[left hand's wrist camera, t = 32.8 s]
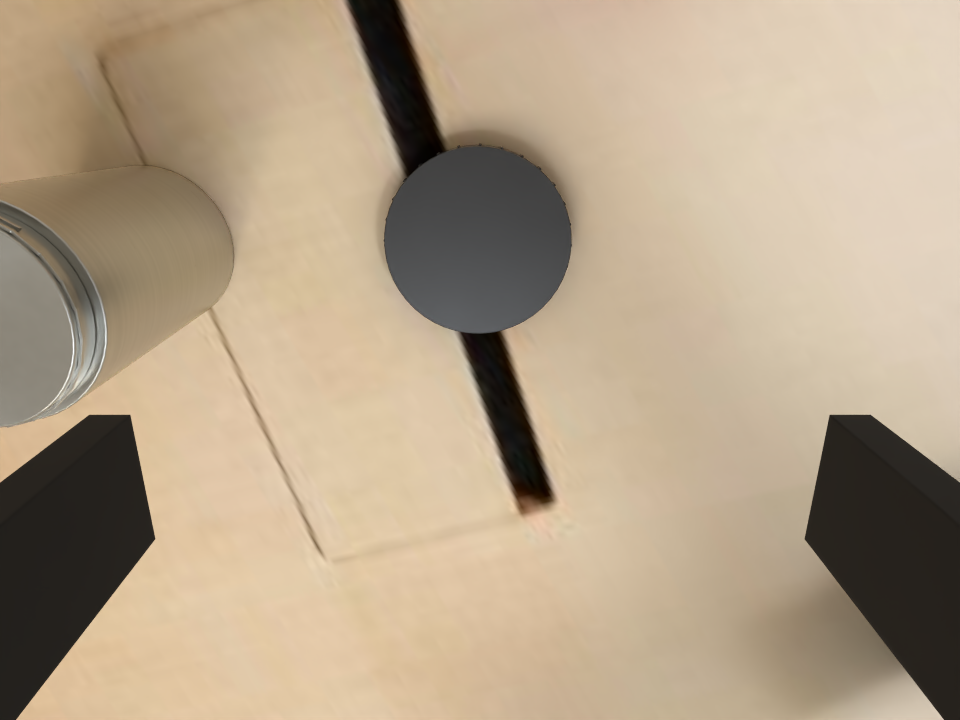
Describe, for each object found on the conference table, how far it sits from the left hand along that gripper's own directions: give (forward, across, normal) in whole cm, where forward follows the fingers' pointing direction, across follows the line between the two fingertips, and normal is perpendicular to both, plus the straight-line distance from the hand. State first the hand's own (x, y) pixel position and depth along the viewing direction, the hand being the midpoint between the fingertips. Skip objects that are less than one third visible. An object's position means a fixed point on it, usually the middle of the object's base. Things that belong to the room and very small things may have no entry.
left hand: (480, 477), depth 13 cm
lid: (+24, 0, 0) cm, 24 cm away
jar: (+25, +18, 0) cm, 31 cm away
